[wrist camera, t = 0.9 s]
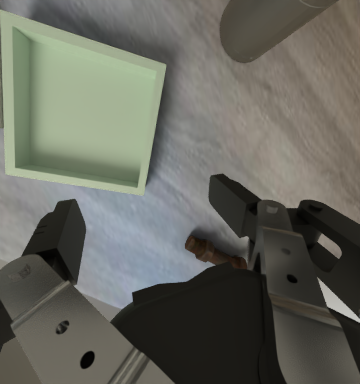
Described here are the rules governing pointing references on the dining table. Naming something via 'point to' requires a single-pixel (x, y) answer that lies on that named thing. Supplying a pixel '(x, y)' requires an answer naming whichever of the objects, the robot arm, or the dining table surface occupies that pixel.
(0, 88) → the holder
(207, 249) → the bolt
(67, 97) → the tray
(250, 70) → the dining table surface
